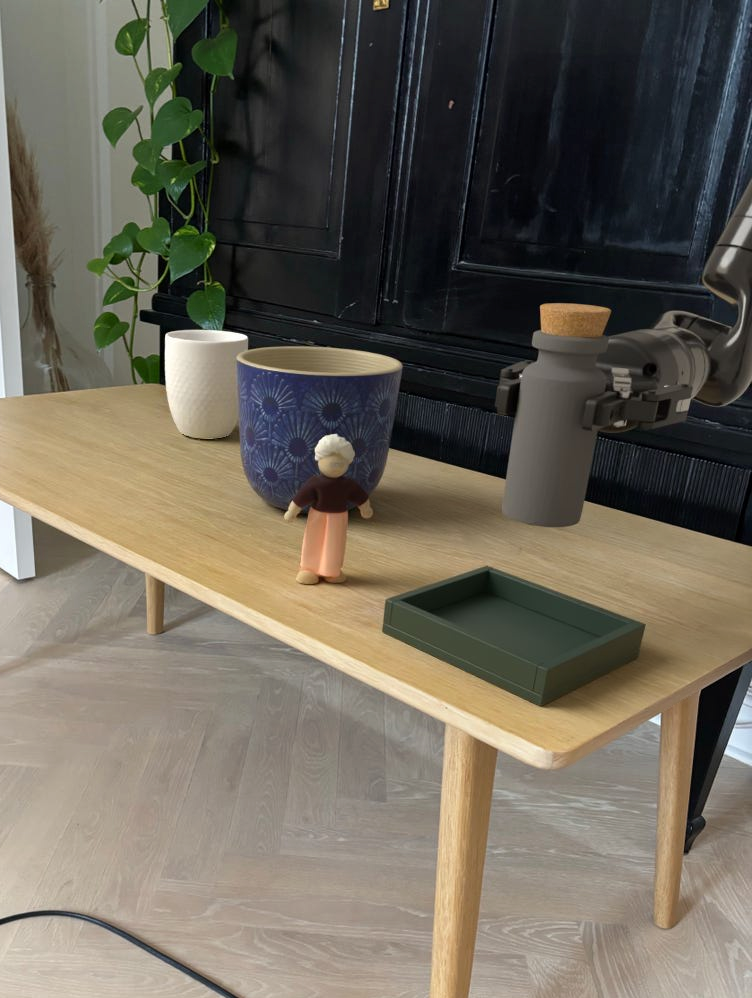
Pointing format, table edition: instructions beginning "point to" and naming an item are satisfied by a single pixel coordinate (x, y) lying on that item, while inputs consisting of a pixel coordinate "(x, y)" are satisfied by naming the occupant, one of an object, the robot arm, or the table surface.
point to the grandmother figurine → (327, 511)
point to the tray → (513, 632)
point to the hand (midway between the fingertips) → (545, 407)
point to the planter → (313, 415)
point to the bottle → (556, 418)
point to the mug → (203, 380)
